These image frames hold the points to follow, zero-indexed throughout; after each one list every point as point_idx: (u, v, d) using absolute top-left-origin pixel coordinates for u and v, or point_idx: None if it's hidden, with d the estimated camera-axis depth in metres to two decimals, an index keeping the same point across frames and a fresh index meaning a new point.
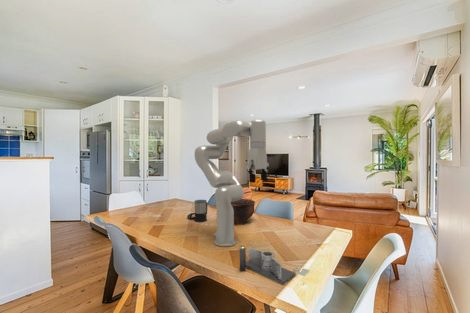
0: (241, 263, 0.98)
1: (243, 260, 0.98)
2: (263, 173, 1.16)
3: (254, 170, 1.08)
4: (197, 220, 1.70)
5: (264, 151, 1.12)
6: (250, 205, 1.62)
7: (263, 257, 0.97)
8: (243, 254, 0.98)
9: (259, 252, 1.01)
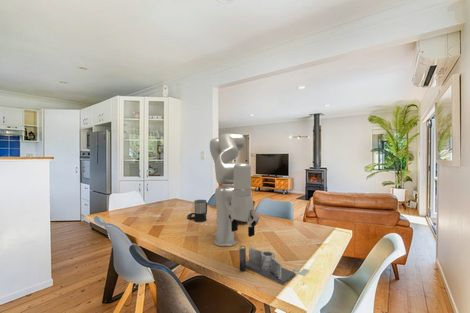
0: (241, 263, 0.98)
1: (243, 260, 0.98)
2: (235, 223, 1.02)
3: (253, 221, 0.96)
4: (197, 220, 1.70)
5: None
6: None
7: (263, 257, 0.97)
8: (243, 254, 0.98)
9: (259, 252, 1.01)
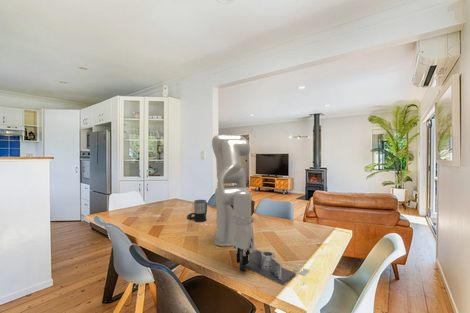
0: (241, 263, 0.98)
1: None
2: None
3: (248, 250, 0.98)
4: (197, 220, 1.70)
5: None
6: None
7: (263, 257, 0.97)
8: None
9: (259, 252, 1.01)
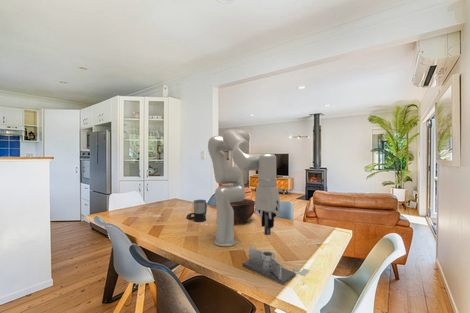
0: (266, 226, 0.97)
1: None
2: None
3: None
4: (196, 220, 1.70)
5: None
6: (250, 205, 1.62)
7: (263, 257, 0.97)
8: (268, 217, 0.97)
9: (259, 252, 1.01)
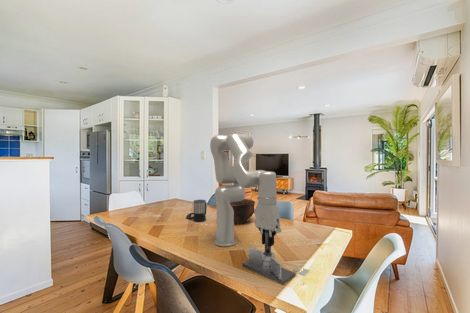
0: (267, 244, 0.97)
1: None
2: None
3: (274, 231, 0.98)
4: (196, 220, 1.70)
5: None
6: (250, 205, 1.62)
7: (263, 257, 0.97)
8: None
9: (259, 252, 1.01)
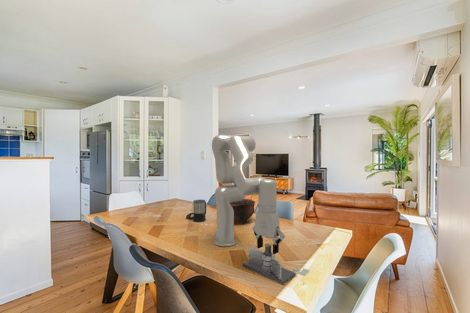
0: None
1: None
2: (260, 239, 1.01)
3: (277, 238, 0.96)
4: (196, 220, 1.70)
5: None
6: (250, 205, 1.62)
7: (263, 257, 0.97)
8: (269, 252, 0.97)
9: (259, 252, 1.01)
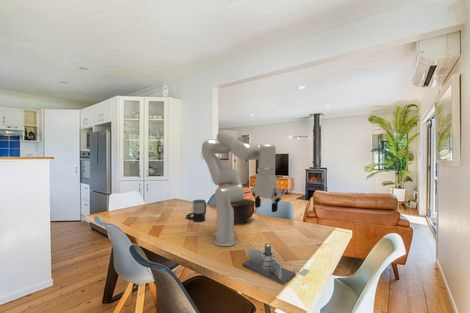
0: None
1: None
2: (258, 199, 1.09)
3: None
4: (195, 220, 1.70)
5: None
6: (250, 205, 1.62)
7: (263, 257, 0.97)
8: (269, 252, 0.97)
9: (259, 252, 1.01)
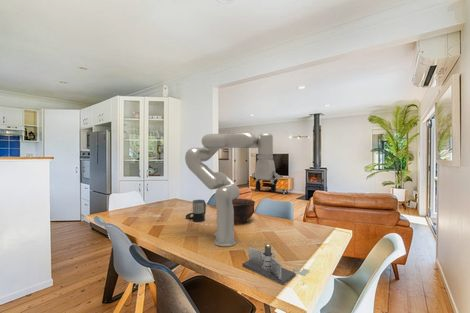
0: None
1: None
2: (258, 183, 1.23)
3: None
4: (195, 220, 1.70)
5: None
6: (250, 205, 1.62)
7: (263, 257, 0.97)
8: (269, 252, 0.97)
9: (259, 252, 1.01)
